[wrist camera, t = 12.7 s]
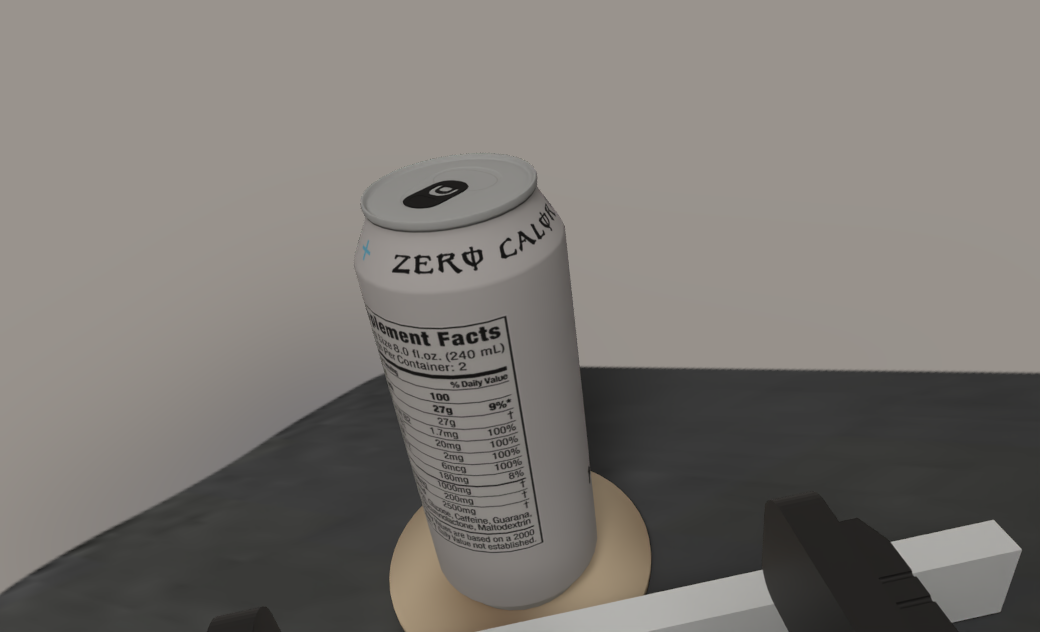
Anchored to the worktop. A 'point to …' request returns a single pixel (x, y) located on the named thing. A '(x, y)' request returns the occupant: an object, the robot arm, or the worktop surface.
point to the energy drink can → (483, 370)
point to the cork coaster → (456, 618)
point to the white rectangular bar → (758, 625)
